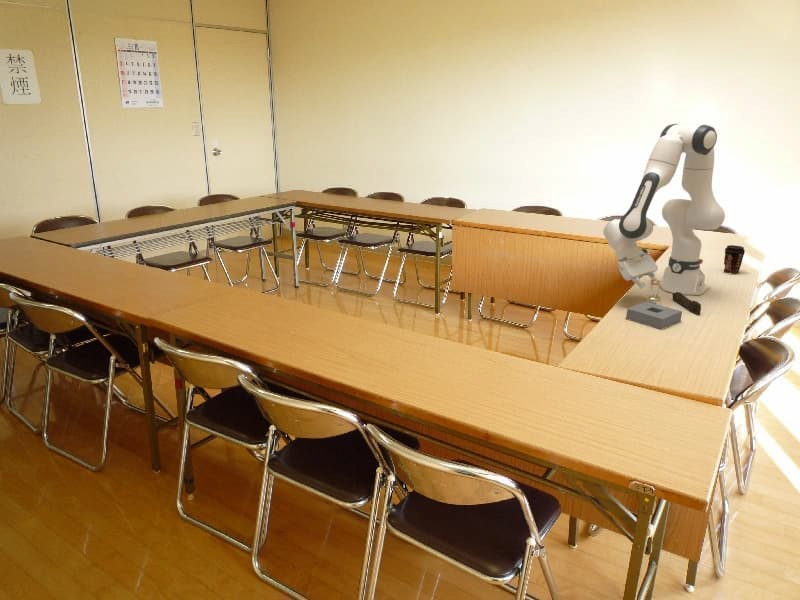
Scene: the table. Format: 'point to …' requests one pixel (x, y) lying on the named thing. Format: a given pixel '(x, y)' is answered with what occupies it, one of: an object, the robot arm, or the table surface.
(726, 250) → the coffee cup
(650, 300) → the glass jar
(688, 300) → the hand tool
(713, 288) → the table surface
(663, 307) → the block
